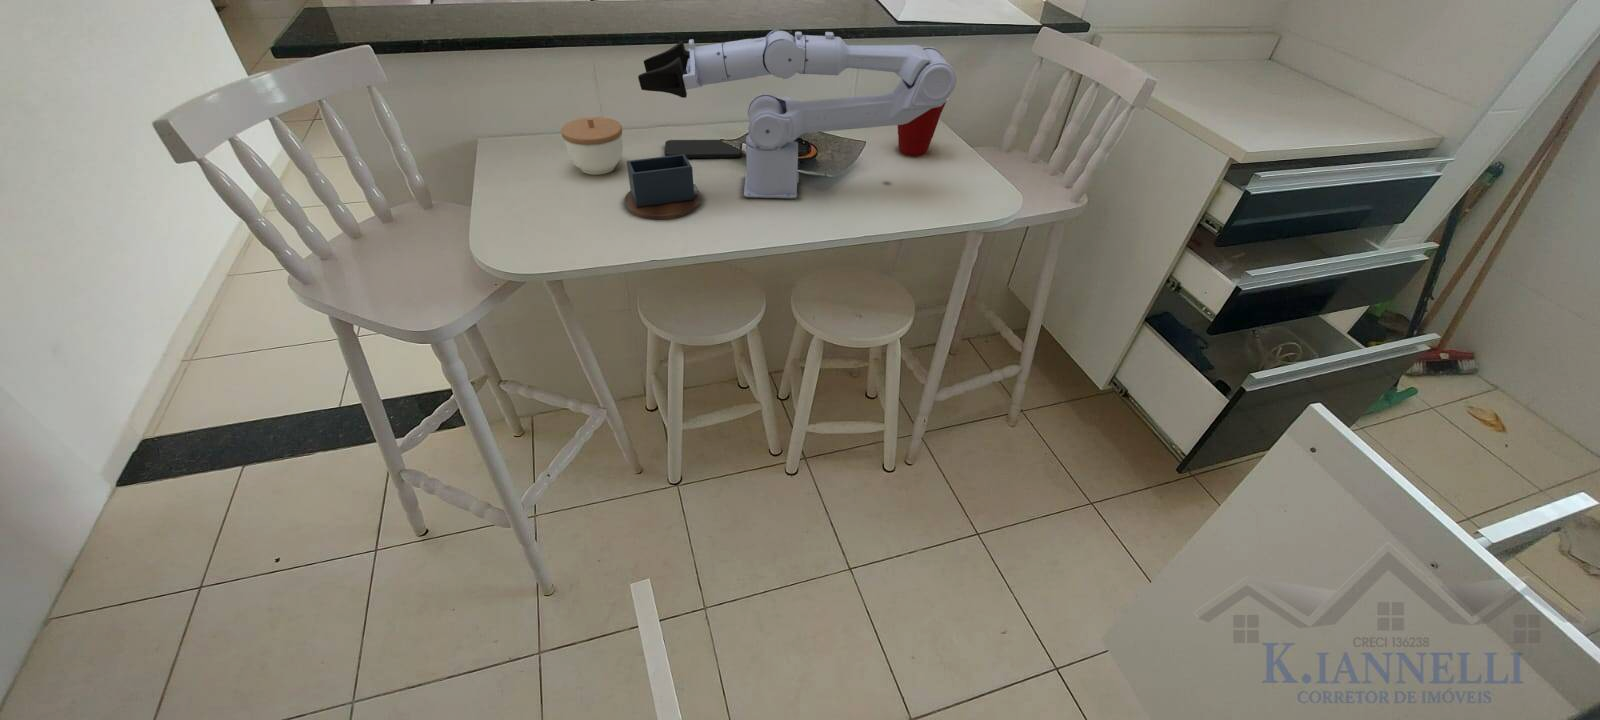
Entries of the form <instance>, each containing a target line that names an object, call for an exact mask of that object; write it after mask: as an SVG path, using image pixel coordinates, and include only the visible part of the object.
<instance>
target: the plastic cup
mask: <svg viewBox="0 0 1600 720" xmlns="http://www.w3.org/2000/svg"><path fill="white" fill-rule="evenodd" d="M949 100H950V96H949V97H948V98H947V100H946V101H945V102H944V104H943V105H942V106H941V107H936V108H931V109H930V110H928V111H927V112H925V113H923V114H922V115H920V116H918V117H917V118H915V119H914V120H912V121H910V122H909V123H907V124H903V125H897V136H898V138H897V140H898V141H897V143H898V151H899V153H901V154H902V155H904V156H906V157H913V158H919V157H923V156H926V154H927V153H928V151H929V149H930V145H931V143H932V139H933V138H934V135H935V132H936V129H937V125H938V123H939V120H940V117H941V115H942V113H943V110H944V108H945V106H946V104H947V102H949Z"/></svg>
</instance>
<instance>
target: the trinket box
mask: <svg viewBox="0 0 1600 720" xmlns="http://www.w3.org/2000/svg"><path fill="white" fill-rule="evenodd" d="M560 132H561V136H562V139H563V143H564V147H565V151H566V153H567V156H568V157H569V159H570V160H571V162H572V163H573V164H574V165H575V166H576V167H577V168H579V169H580V170H581V171H582V172H583V173H585V174H586V175H587V174H588V175H592V176H598V175H599V176H600V175H605V174H609V173H611V172H613V171H614V170H615V169H616V166H617V165H618V164H619V162H620V161H621V159H622V156H623V151H624V137H623V126H622V124H621V123H620V122H619V121H617V120H615V119H613V118H607V117H601V116H591V117H582V118H577V119H573V120H571V121H568V122H566V123H565V124H563V126H562V127H561V129H560Z"/></svg>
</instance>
